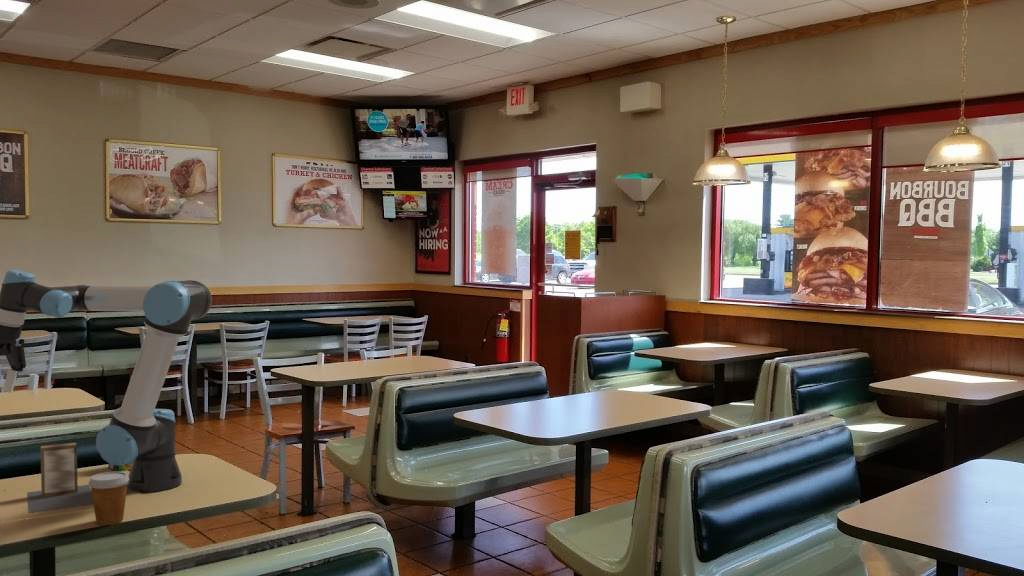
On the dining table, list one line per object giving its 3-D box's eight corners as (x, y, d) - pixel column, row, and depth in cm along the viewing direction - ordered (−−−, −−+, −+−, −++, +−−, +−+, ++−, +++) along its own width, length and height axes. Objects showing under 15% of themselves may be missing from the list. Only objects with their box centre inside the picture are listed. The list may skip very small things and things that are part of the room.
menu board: (76, 490, 244) (76, 442, 243) (77, 492, 241) (76, 444, 240) (41, 494, 239) (40, 446, 238) (41, 497, 236) (40, 448, 236)
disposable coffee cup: (133, 523, 216) (132, 477, 215) (92, 529, 210) (91, 482, 210) (126, 513, 224) (125, 469, 223) (86, 519, 218) (86, 474, 218)
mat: (89, 486, 249) (89, 484, 249) (95, 505, 231) (95, 503, 230) (27, 493, 241) (27, 492, 241) (28, 514, 222) (28, 513, 222)
